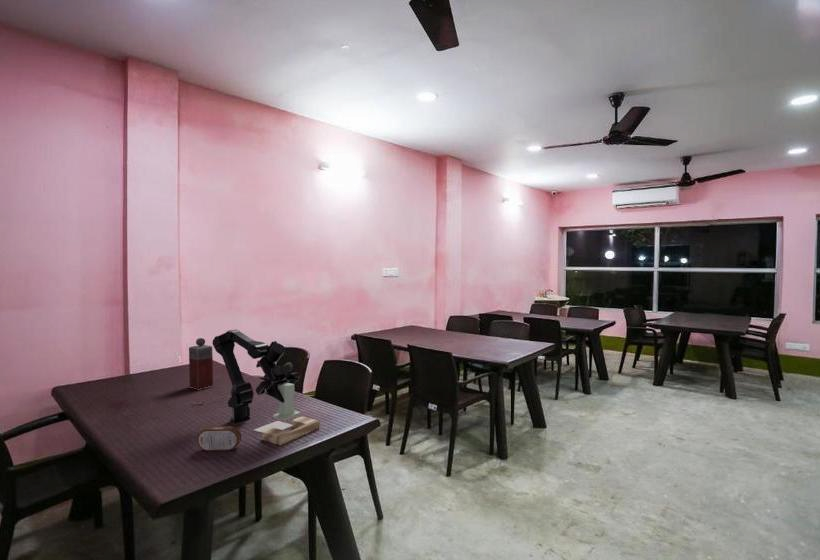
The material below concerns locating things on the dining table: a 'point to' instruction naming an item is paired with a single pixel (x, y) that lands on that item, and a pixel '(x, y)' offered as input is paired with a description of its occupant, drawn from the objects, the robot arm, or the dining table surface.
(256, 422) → the dining table surface
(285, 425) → the mat
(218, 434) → the tin
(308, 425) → the stand
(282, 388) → the mint green pillar
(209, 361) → the glass decanter
